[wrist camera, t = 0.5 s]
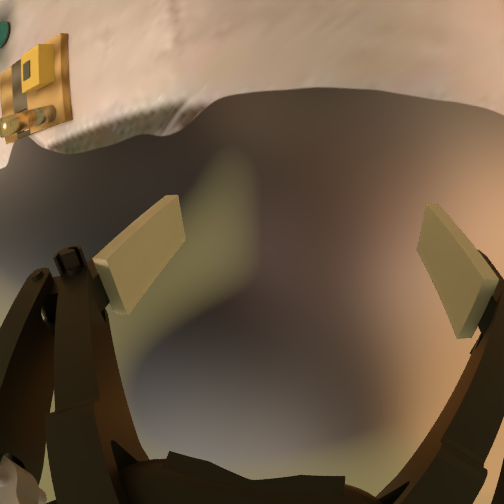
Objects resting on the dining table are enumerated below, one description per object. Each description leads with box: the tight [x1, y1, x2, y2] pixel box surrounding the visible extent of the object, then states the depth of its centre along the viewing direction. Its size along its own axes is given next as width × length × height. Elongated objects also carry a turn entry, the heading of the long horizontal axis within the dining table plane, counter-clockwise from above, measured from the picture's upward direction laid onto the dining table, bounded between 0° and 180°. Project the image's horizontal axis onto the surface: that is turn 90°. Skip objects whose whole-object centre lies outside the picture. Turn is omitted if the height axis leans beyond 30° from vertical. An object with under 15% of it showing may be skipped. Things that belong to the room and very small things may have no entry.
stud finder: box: [21, 44, 55, 93], centre depth 32 cm, size 8×6×4 cm
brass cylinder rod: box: [0, 105, 56, 138], centre depth 34 cm, size 3×3×12 cm
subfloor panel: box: [0, 33, 73, 144], centre depth 38 cm, size 18×24×2 cm
